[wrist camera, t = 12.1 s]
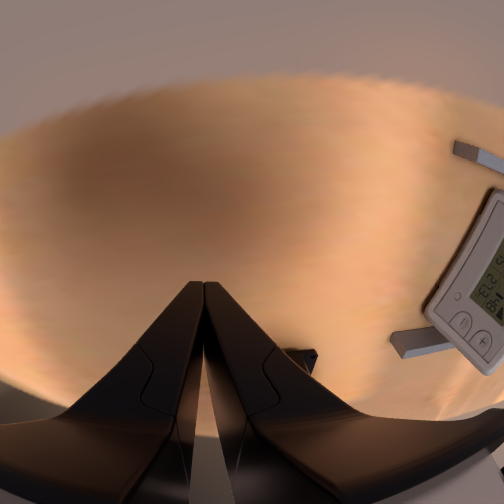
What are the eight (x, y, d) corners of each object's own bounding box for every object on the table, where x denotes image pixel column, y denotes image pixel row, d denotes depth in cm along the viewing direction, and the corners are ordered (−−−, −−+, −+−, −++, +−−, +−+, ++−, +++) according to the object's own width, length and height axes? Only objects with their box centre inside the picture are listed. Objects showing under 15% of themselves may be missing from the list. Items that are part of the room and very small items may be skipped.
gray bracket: (481, 323, 32) (500, 345, 28) (389, 340, 29) (410, 372, 25) (535, 180, 23) (563, 195, 19) (455, 140, 20) (497, 153, 15)
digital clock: (494, 176, 22) (572, 217, 13) (514, 224, 25) (575, 265, 16) (404, 299, 27) (464, 373, 17) (438, 326, 30) (486, 387, 21)
